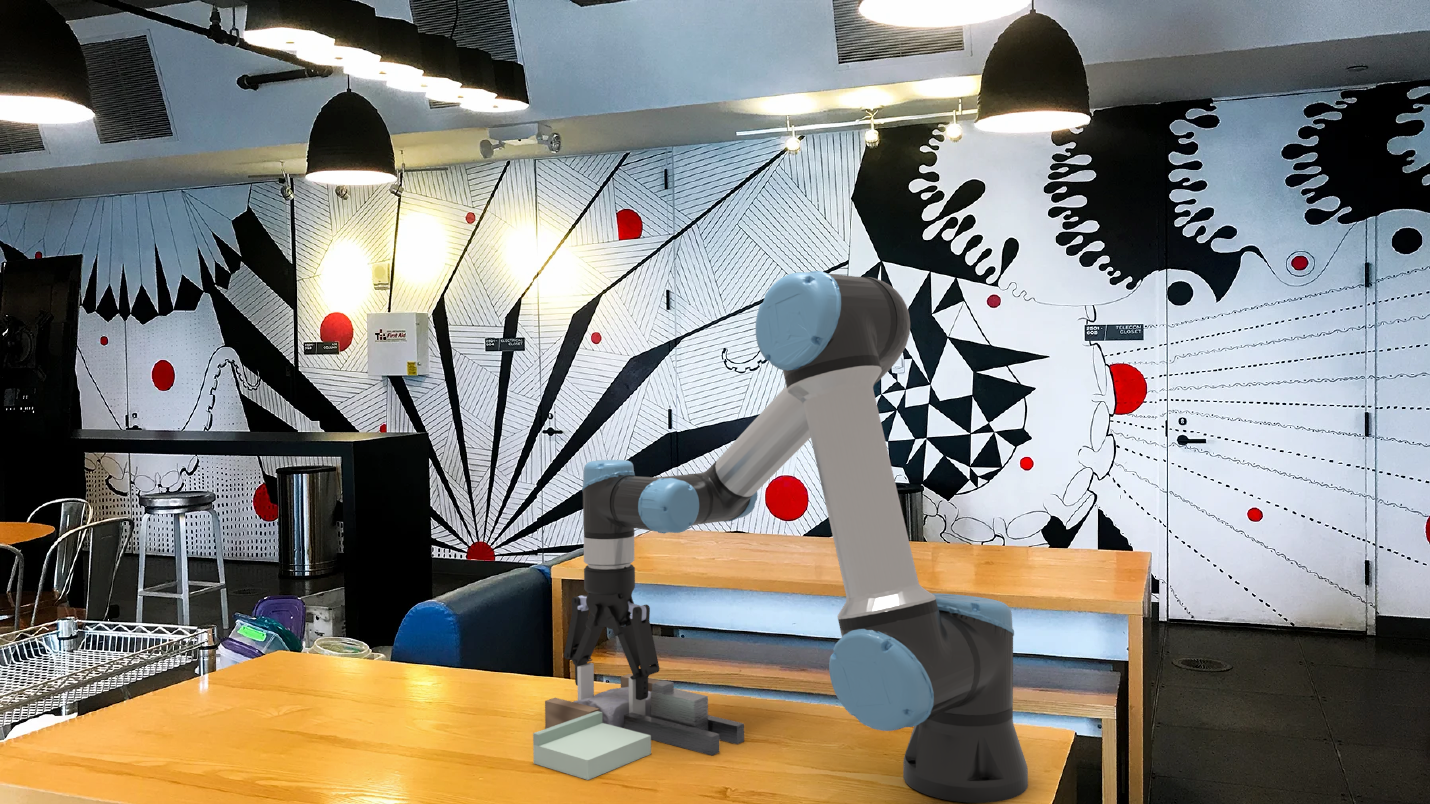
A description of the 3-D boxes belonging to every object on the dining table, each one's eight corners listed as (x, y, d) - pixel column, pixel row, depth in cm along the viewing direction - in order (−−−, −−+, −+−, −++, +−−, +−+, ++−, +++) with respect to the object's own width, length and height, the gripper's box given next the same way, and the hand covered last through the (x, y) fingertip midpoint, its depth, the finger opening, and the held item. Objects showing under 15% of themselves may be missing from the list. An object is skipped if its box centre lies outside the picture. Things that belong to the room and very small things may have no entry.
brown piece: (673, 709, 168) (672, 683, 168) (589, 740, 154) (589, 712, 154) (629, 699, 173) (629, 673, 173) (545, 728, 159) (545, 700, 159)
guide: (744, 741, 153) (744, 723, 153) (712, 755, 147) (712, 736, 147) (657, 719, 163) (657, 703, 163) (624, 732, 157) (623, 715, 157)
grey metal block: (708, 738, 154) (707, 688, 154) (694, 744, 152) (694, 693, 152) (664, 727, 159) (664, 679, 159) (651, 733, 157) (650, 684, 157)
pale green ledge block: (651, 753, 148) (650, 724, 148) (587, 780, 139) (587, 748, 139) (597, 739, 154) (597, 710, 154) (533, 763, 145) (533, 733, 145)
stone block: (564, 734, 162) (613, 733, 156) (559, 701, 162) (609, 699, 156) (618, 717, 171) (667, 715, 165) (614, 686, 172) (662, 683, 166)
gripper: (683, 568, 159) (685, 721, 160) (574, 554, 173) (575, 695, 173) (649, 576, 153) (650, 735, 154) (538, 560, 167) (540, 706, 168)
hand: (611, 713), depth 164 cm, fingers closed on stone block, 10 cm apart
